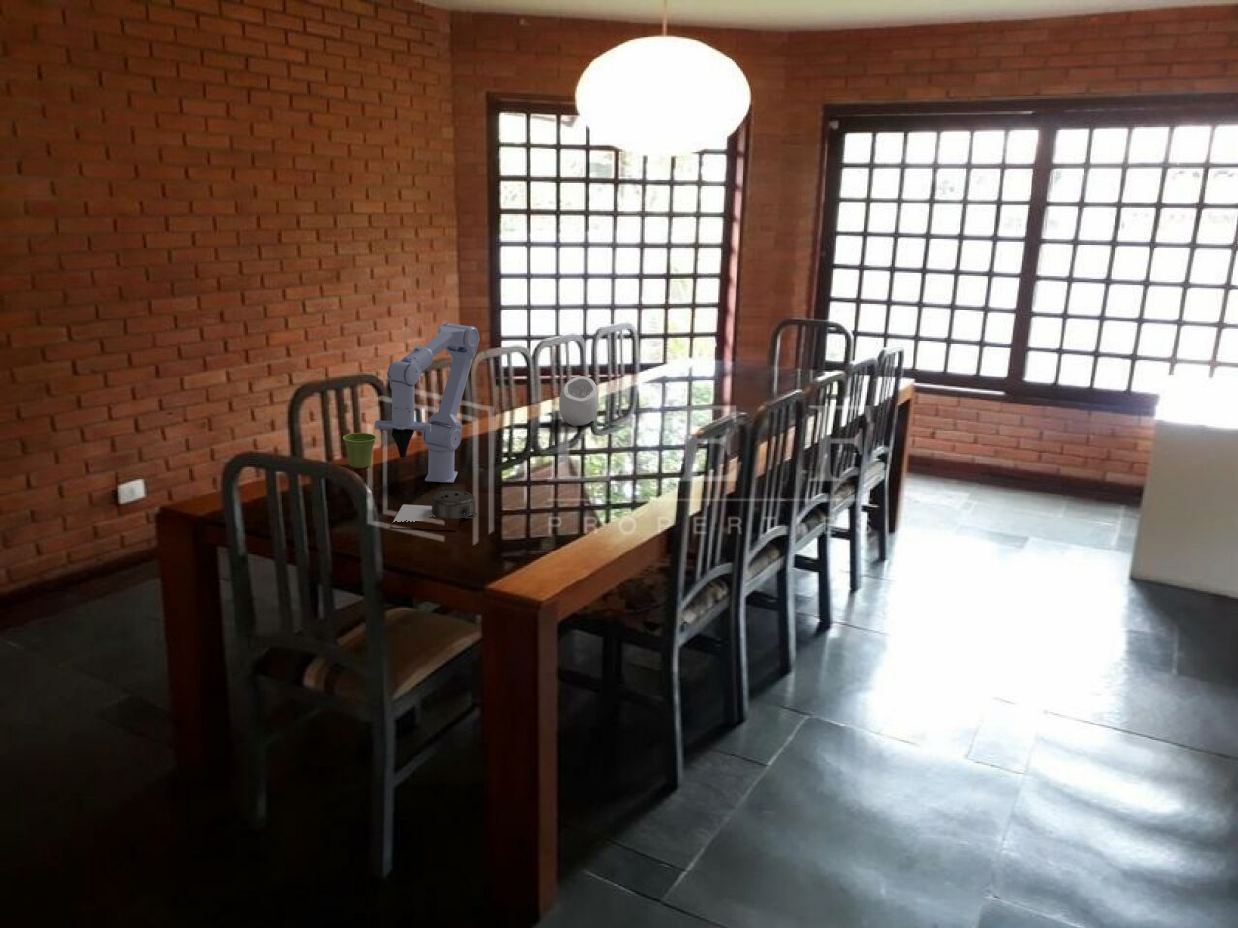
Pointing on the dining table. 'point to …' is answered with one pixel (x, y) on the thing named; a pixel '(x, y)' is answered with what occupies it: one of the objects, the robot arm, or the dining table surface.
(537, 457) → the dining table surface
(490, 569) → the dining table surface
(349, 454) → the plant pot
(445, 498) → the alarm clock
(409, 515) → the mat
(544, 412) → the dining table surface
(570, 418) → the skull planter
